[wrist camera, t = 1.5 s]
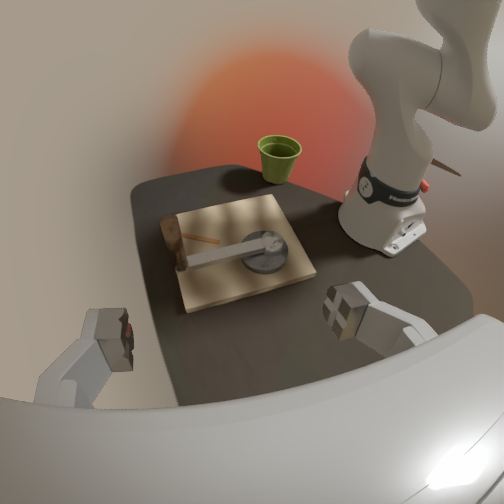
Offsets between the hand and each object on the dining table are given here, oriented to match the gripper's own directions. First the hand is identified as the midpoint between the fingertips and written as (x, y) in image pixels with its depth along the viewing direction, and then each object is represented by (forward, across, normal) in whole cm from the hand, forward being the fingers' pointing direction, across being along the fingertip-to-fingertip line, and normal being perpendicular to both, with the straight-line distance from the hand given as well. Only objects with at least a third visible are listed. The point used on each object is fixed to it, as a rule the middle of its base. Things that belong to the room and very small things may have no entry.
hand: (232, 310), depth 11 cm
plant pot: (+51, -21, +8) cm, 56 cm away
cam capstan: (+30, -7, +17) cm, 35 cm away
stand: (+35, -8, +17) cm, 40 cm away
